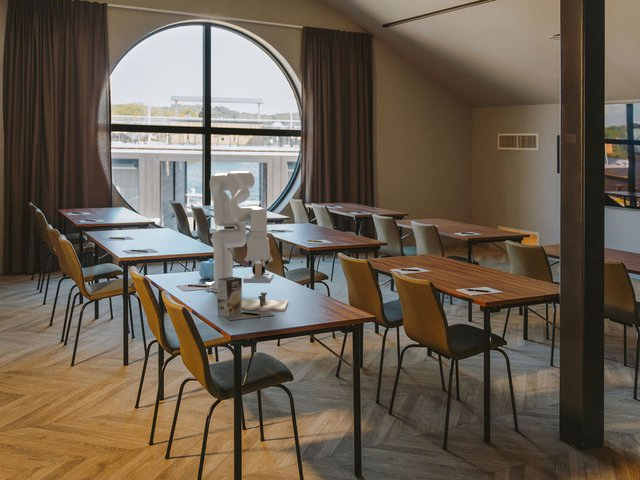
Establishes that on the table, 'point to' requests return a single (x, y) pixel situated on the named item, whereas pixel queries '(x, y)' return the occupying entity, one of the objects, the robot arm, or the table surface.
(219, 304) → the coffee box
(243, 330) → the table surface
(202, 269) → the teapot
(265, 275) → the panel
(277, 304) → the board
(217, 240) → the robot arm
